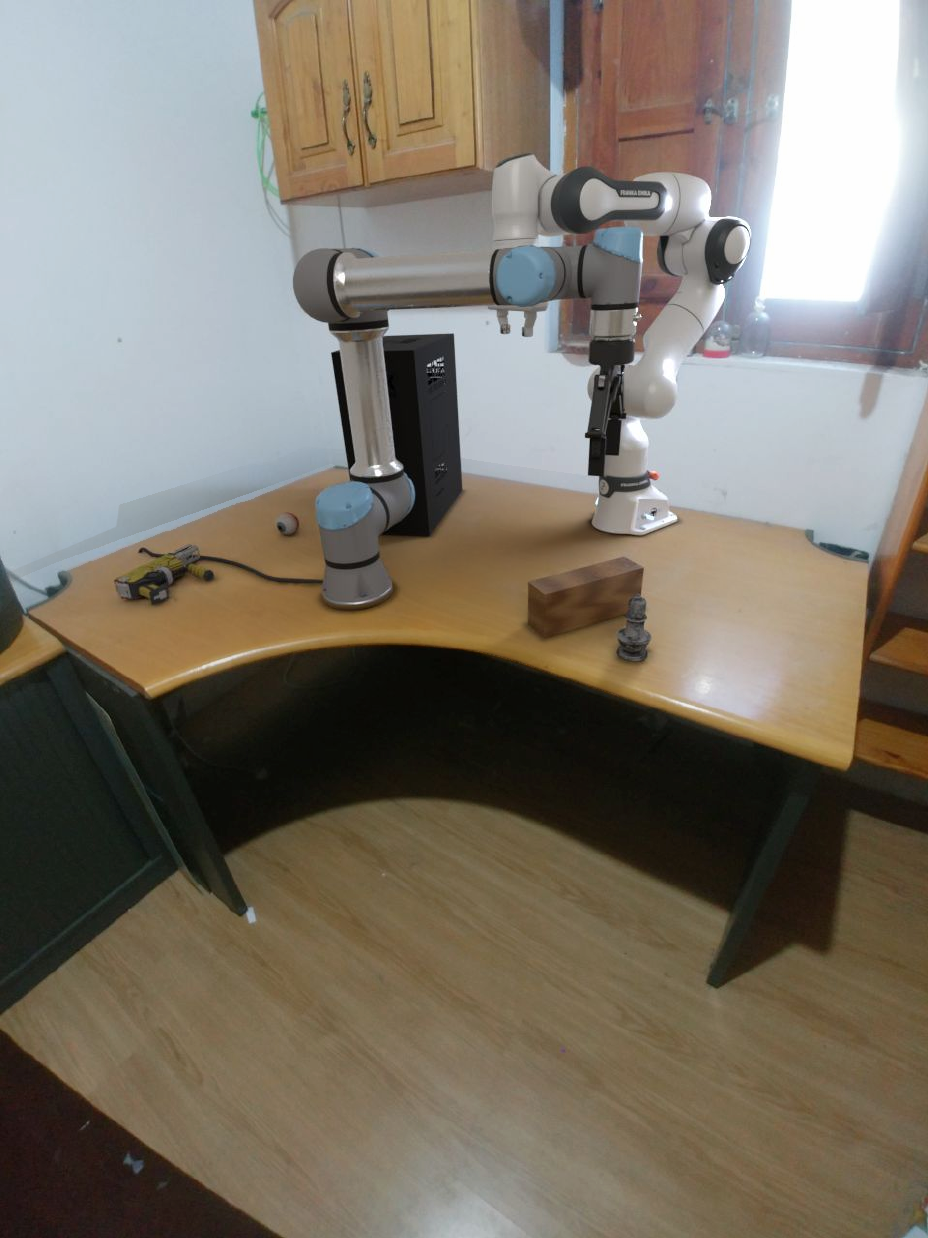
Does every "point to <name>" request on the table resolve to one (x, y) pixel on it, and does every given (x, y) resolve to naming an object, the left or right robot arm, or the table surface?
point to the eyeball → (287, 523)
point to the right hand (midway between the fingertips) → (516, 335)
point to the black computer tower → (418, 423)
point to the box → (582, 596)
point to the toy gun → (160, 575)
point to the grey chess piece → (634, 631)
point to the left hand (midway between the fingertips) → (604, 464)
